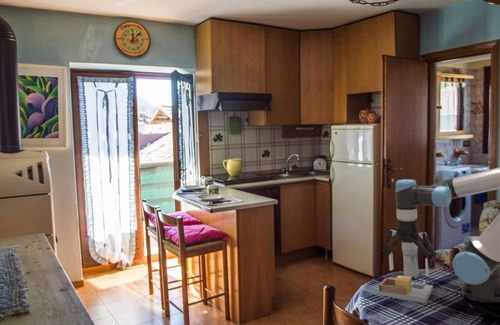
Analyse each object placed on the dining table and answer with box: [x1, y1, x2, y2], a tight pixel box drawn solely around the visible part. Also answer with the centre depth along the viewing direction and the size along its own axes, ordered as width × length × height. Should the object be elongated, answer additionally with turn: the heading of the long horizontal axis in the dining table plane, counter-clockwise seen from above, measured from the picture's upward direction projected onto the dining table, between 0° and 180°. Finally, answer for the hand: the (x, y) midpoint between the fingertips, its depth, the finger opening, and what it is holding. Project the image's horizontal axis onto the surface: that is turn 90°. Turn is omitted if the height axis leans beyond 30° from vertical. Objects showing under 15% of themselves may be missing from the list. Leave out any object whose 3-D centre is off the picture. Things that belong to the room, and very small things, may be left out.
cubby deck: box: [377, 277, 434, 304], centre depth 161 cm, size 18×14×4 cm
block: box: [395, 275, 413, 294], centre depth 159 cm, size 5×5×5 cm
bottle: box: [401, 241, 420, 280], centre depth 177 cm, size 7×7×20 cm
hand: (409, 272), depth 157 cm, fingers open, 13 cm apart
